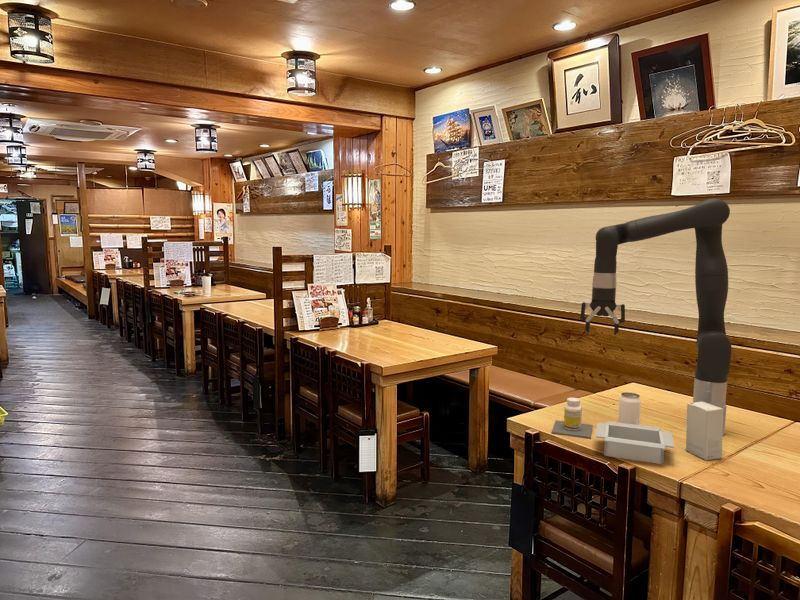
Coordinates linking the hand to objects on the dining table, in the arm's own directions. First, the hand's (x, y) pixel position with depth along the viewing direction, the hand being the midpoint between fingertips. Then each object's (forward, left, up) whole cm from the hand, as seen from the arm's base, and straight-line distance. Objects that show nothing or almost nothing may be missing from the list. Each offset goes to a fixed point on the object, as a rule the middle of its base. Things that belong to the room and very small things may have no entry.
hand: (601, 333), depth 189 cm
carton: (-11, +27, -30) cm, 42 cm away
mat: (+7, +15, -30) cm, 34 cm away
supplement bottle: (+7, +15, -30) cm, 34 cm away
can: (-10, +8, -30) cm, 33 cm away
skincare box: (-30, +21, -30) cm, 48 cm away
